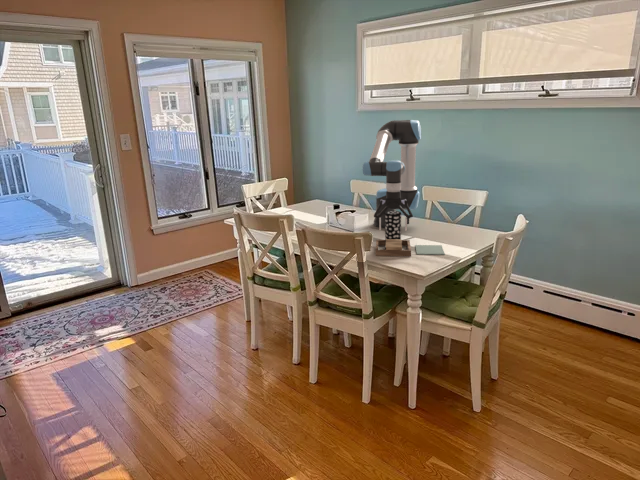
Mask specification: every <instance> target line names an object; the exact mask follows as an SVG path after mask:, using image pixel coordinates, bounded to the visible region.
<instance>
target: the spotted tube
mask: <svg viewBox="0 0 640 480" xmlns="http://www.w3.org/2000/svg"><path fill="white" fill-rule="evenodd" d="M384 235H385V236H384V240H385V246H384V250H386V239H402V212H401V210H395V211H387V212H385V228H384Z"/></svg>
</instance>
